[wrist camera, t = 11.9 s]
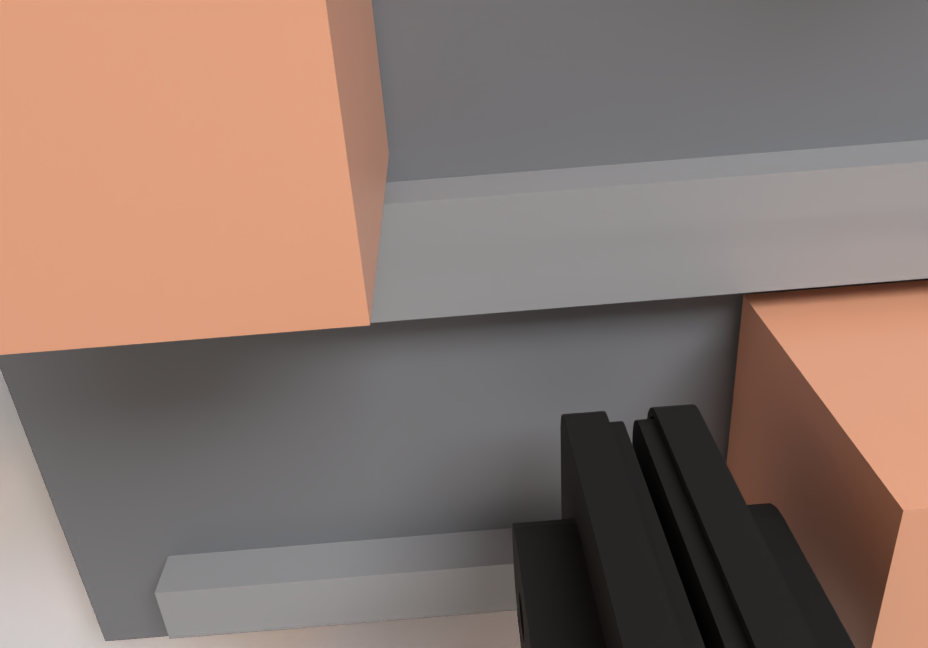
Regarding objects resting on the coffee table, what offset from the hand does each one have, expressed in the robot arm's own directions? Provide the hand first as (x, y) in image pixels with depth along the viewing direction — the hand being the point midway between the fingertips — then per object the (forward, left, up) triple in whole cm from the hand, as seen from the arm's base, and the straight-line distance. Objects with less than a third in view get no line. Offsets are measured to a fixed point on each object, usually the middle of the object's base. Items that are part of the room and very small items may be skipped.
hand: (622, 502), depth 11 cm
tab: (-6, -4, -2) cm, 8 cm away
